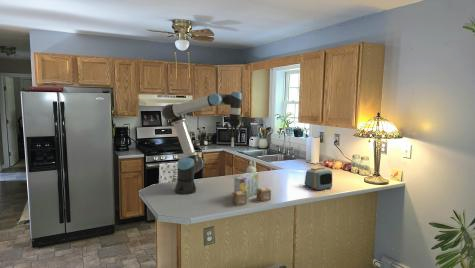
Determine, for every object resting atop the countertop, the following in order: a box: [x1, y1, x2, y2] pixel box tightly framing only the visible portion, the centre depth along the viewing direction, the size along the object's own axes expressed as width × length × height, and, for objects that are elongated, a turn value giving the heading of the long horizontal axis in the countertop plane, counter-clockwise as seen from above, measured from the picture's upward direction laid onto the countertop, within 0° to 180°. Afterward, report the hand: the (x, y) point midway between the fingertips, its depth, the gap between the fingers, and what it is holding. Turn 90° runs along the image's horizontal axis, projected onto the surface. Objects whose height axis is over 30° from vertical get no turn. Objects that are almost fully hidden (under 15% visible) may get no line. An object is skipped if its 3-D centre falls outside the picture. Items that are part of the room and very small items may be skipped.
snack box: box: [233, 172, 259, 198], centre depth 215 cm, size 21×6×15 cm, turn 141°
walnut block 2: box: [256, 187, 272, 202], centre depth 210 cm, size 7×7×7 cm
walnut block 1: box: [231, 191, 248, 206], centre depth 201 cm, size 7×7×7 cm
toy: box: [241, 160, 257, 176], centre depth 260 cm, size 10×17×15 cm, turn 140°
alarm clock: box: [304, 166, 333, 191], centre depth 242 cm, size 16×16×16 cm
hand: (232, 146), depth 222 cm, fingers closed
